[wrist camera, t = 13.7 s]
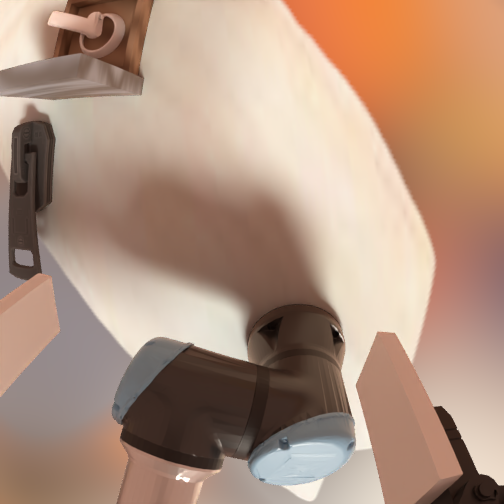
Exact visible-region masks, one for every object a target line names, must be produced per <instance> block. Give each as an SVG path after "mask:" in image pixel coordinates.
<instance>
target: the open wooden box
mask: <svg viewBox="0 0 504 504" xmlns="http://www.w3.org/2000/svg"><path fill="white" fill-rule="evenodd" d="M153 2H154V0H68V2H67V5H66V9H65V13H69V14H73V15H77V16H80V17H84V18H88V16H89V15H90V14H91V13H93V12H100V13H101V14H105V13H113V14H117V15H119V16H120V17H121V18H122V19H123V21H124V23H125V33H124V36H123V39H122V41H121V43H120V44H119V45H118V47H117V48H116V49H115V50H114V51H113V52H111V53H110V54H109V55H107V56H105V57H102V58H97V59H96V58H93V57H91V56H88V55H85V54H84V53H83V52H82V49H81V47H80V42H79V38H80V34H81V33H79V32H75V31H70V30H66V29H62V28H60V30H59V34H58V39H57V43H56V47H55V52H54V57H53V58H50V59H45V60H41V61H36V62H32V63H28V64H24V65H20V66H16V67H12V68H9V69H5V70H2V71H0V96H7V97H25V98H38V99H50V100H57V99H68V98H80V97H97V96H125V95H141V94H142V87H143V81H144V78H142V77H140V76H138V72H139V66H140V61H141V55H142V50H143V45H144V40H145V35H146V31H147V26H148V22H149V18H150V13H151V9H152V5H153ZM113 32H114V22H113V20H112V19H111V18H109V17H104V19H103V26H102V33H101V35H100V36H99V37H97V38H94V39H91V38H88V37H87V36H86V35H85V36H84V40H83V45H84V47H85V48H86V49H87V50H97V49H99V48H101V47H103V46H104V45H105V44H106V43H107V42H108V41H109V40H110V38H111V37H112V35H113Z"/></svg>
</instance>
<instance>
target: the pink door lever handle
mask: <svg viewBox="0 0 504 504" xmlns="http://www.w3.org/2000/svg"><path fill="white" fill-rule="evenodd" d="M104 17H109V18H111V19H112V20H113V22H114V32H113V35H112V37H111V38H110V40H109V41H108V42H107V43H106V44H105V45H104V46H103V47H101V48H99V49H97V50H87V49H86V48H85V47H84V45H83V40H84V36H85V35H86V36H87V37H88V38H91V39H94V38H97V37H99V36H100V35H101V33H102V26H103V19H104ZM48 25H50V26H53V27H58V28H62V29H66V30H70V31H75V32H79V33H81V34H80V38H79V42H80V47H81V49H82V52H83V53H84V54H85V55H88V56H91V57H93V58H96V59H97V58H102V57H105V56H107V55H109V54H110V53H111V52H113V51H114V50H115V49H116V48H117V47H118V45H119V44H120V43H121V41H122V39H123V36H124V33H125V23H124V21H123V19H122V18H121V17H120V16H119V15H117V14H113V13H105V14H101V13H100V12H93V13H91V14H90V15H89V16H88V18H84V17H80V16H77V15H73V14H69V13H65V12H60V11H53V12H52V14H51V15H50V17H49V20H48Z"/></svg>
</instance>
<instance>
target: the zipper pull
mask: <svg viewBox="0 0 504 504" xmlns="http://www.w3.org/2000/svg"><path fill="white" fill-rule="evenodd" d="M11 147H12V161H11V176H10V200H9V268H10V273H11V274H12V275H14V276H15V277H17V278H20V279H24V280H29V279H31V278H32V277H34V276H35V275H36V274H38V273H41V274H42V271H41V263H40V255H39V248H38V238H37V226H36V212H37V211H40V210H42V209H44V208H45V207H46V206H47V205H49V204H50V203H51V202H52V180H53V161H54V149H55V136H54V132H53V129H52V125H51V124H48V123H45V122H42V121H31V122H26V123H23V124H21V125H18V126H16V127H15V128H14V130H13V133H12V145H11ZM15 249H22V250H30V251H31V252H32V254H33V261H34V266H32V267H29V266H24V265H20V264H18V263H16V261H15Z"/></svg>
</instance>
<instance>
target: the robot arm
mask: <svg viewBox="0 0 504 504" xmlns="http://www.w3.org/2000/svg"><path fill="white" fill-rule="evenodd" d="M59 332H60V326H59V321H58V316H57V310H56V304H55V298H54V292H53V285H52V277H51V276H49V275H45V274H41V273H38V274H36V275H35V276H34V277H32V278H31V279H29V280H28V281H26V282H25V283H24V284H22V285H21V286H19V287H18V288H16V289H15V290H14V291H12V292H11V293H10V294H8V295H7V296H5V297H4V298H3V299H1V300H0V397H1V396H2V395H3V393H4V392H5V391H6V390H7V389H8V387H9V386H10V385H11V384H12V383H13V382H14V381H15V379H16V378H17V377H18V376H19V375H20V374H21V373H22V372H23V371H24V369H25V368H26V367H27V366H28V365H29V364H30V363H31V362H32V361H33V360H34V358H35V357H36V356H37V355H38V354H39V353H40V352H41V351H42V350H43V349H44V348H45V347H46V346H47V344H48V343H49V342H50V341H51V340H52V339H53V338H54V337H55V336H56V335H57V334H58V333H59ZM344 355H345V340H344V336H343V333H342V330H341V327H340V325H339V324H338V322H337V321H336V320H335V318H334V317H333V316H331V315H330V314H329V313H327V312H326V311H324V310H322V309H320V308H317V307H314V306H310V305H300V304H298V305H288V306H283V307H280V308H277V309H275V310H273V311H271V312H269V313H267V314H266V315H265V316H263V317H262V318H261V319H260V320H259V321H258V322H257V323H256V324H255V326H254V327H253V329H252V331H251V333H250V336H249V341H248V360H249V362H247V361H243V360H239V359H235V358H232V357H229V356H225V355H222V354H218V353H215V352H212V351H209V350H206V349H202V348H199V347H196V346H194V344H193V343H183V342H180V341H176V340H172V339H169V338H165V337H156V338H153V339H151V340H150V341H148V342H147V343H146V344H145V345H144V346H143V347H142V348H141V349H140V350H139V351H138V353H137V354H136V355H135V357H134V358H133V360H132V361H131V363H130V365H129V366H128V368H127V370H126V372H125V374H124V376H123V378H122V380H121V382H120V384H119V387H118V389H117V392H116V394H115V398H114V401H115V402H114V404H113V407H112V416H113V418H114V420H116V421H117V423H118V424H121V425H123V429H122V433H121V436H120V442H121V443H122V445H123V447H124V449H125V450H126V452H127V454H128V457H129V459H128V462H127V466H126V470H125V473H124V477H123V480H122V484H121V488H120V492H119V496H118V500H117V504H197V502H198V498H199V494H200V491H201V487H202V484H203V481H204V480H205V479H206V478H208V477H210V476H212V475H214V474H216V473H218V472H220V471H221V468H222V464H223V460H224V458H225V456H227V457H233V458H237V459H242V460H246V461H248V467H249V469H250V472H251V473H252V475H253V476H254V477H255V478H259V480H260V481H262V482H265V483H268V484H273V485H298V484H304V483H309V482H313V481H316V480H318V479H321V478H324V477H326V476H328V475H330V474H332V473H334V472H336V471H337V470H339V469H340V468H341V467H342V466H343V465H345V464H346V462H348V461H349V459H350V458H351V456H352V455H353V453H354V450H355V446H356V439H355V429H354V426H355V422H354V419H353V417H352V414H351V410H350V406H349V402H348V398H347V394H346V390H345V386H344V382H343V378H342V374H341V368H342V364H343V359H344ZM356 388H357V392H358V395H359V399H360V402H361V406H362V410H363V414H364V417H365V421H366V425H367V429H368V433H369V437H370V441H371V445H372V449H373V453H374V457H375V461H376V465H377V470H378V474H379V478H380V483H381V487H382V492H383V496H384V501H385V504H504V486H499V485H498V484H497V483H496V482H495V480H494V479H492V478H491V477H489V476H487V475H482V474H480V475H479V473H478V472H477V470H476V468H475V465H474V463H473V461H472V458H471V456H470V454H469V452H468V450H467V447H466V445H465V443H464V441H463V440H462V439H461V435H460V433H459V431H458V430H457V427H456V425H455V423H454V421H453V419H452V417H451V415H450V414H449V413H447V411H446V410H445V409H444V408H443V407H442V406H438V407H433V405H432V403H431V401H430V399H429V397H428V395H427V393H426V391H425V389H424V387H423V385H422V383H421V381H420V379H419V377H418V375H417V373H416V371H415V369H414V367H413V365H412V363H411V362H410V360H409V358H408V356H407V354H406V352H405V350H404V348H403V347H402V345H401V343H400V341H399V339H398V337H397V336H396V334H395V333H389V332H377V335H376V337H375V340H374V342H373V345H372V347H371V350H370V352H369V355H368V357H367V360H366V362H365V365H364V367H363V369H362V372H361V374H360V376H359V379H358V381H357V383H356Z"/></svg>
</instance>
